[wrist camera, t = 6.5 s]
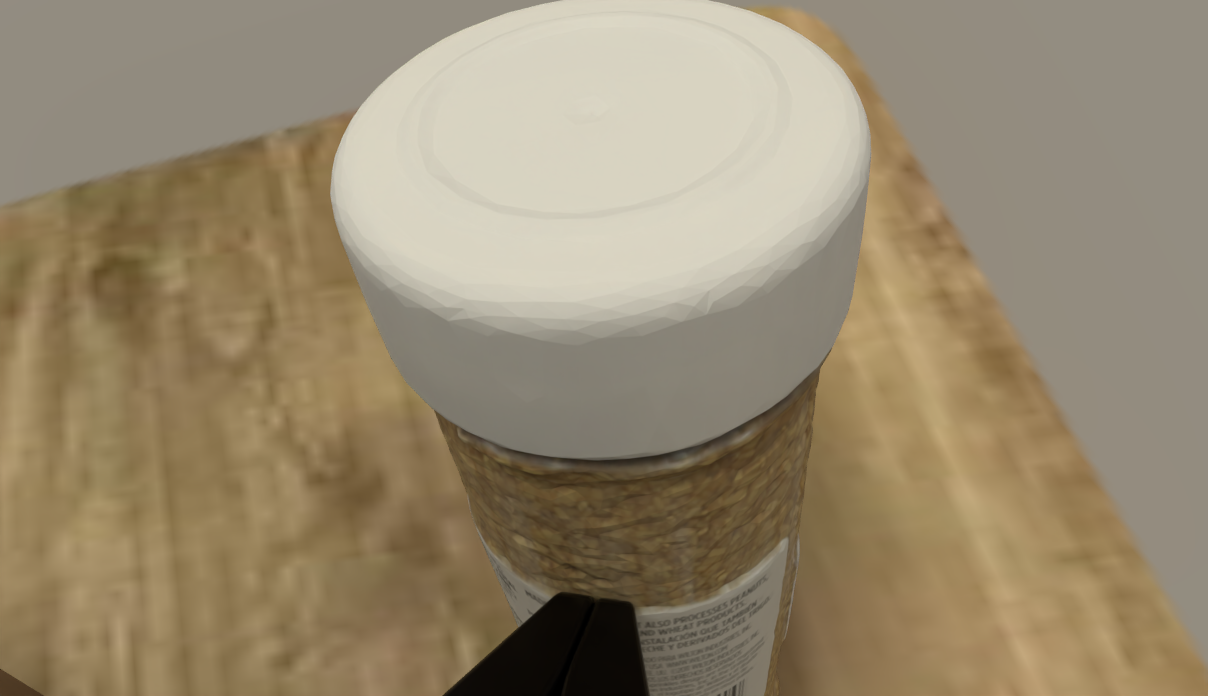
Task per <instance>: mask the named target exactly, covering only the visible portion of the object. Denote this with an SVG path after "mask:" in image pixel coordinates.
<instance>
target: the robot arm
mask: <svg viewBox="0 0 1208 696" xmlns="http://www.w3.org/2000/svg"><path fill="white" fill-rule="evenodd" d="M443 696H650V692H649V687H648V681H647V675H646V670H645V664H644V658H643V653H642V647H641V641H640V636H639V630H638V624H637V619H636V613H635V608H634V605H633V604H632V603H631V602H629V601H623V600H616V599H609V598H600V599H598V600H597V601H596V603H595V600H594V599H593V598H592V597H591V596H589V595H583V594H576V593H569V592H559V593H557V594H555V595H554V596H553V597H552V598H551V599H550V600H549V601H547V602H546V603H545V604H544V605H543V606H542V607H541V608H540V609H539V610H537V611H536V612H535V613H534V614H533V615H532V616H531V617H530V618H528V619H527V620H526V621H525V622H524V623H523V624H522V625H521V626H520V627H518V628H517V629H516V630H515V631H514V632H513V633H512V634H511V635H510V636H508V637H507V638H506V639H505V640H504V641H503V642H502V643H501V644H499V645H498V646H497V647H496V648H495V649H494V650H493V651H492V652H491V653H489V654H488V655H487V656H486V657H485V658H484V659H483V660H482V661H481V662H479V663H478V664H477V665H476V666H475V667H474V668H473V669H472V670H471V671H469V672H468V673H467V674H466V675H465V676H464V677H463V678H462V679H460V680H459V681H458V682H457V683H456V684H455V685H454V686H453V687H452V688H450V689H449V690H448V691H447V692H446V693H445V694H444V695H443Z"/></svg>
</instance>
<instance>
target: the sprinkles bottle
mask: <svg viewBox="0 0 1208 696" xmlns="http://www.w3.org/2000/svg"><path fill="white" fill-rule="evenodd" d="M870 162H871V139H870V131H869V126H868V121H867V116H866V113H865V110H864V108H863V105H862V102H861V100H860V98H859V96H858V94H857V92H856V90H855V88H854V86H853V84H852V83H851V81H850V80H849V78H848V77H847V75H846V74H845V72H844V71H843V70H842V69H841V67H840V66H839V65H838V64H837V63H836V62H835V61H834V60H833V59H832V58H831V57H830V56H829V55H828V54H826V53H825V52H824V51H823V50H822V49H821V48H820V47H818V46H817V45H815V44H814V43H812V42H811V41H809V40H808V39H807V38H805V37H804V36H802V35H801V34H799V33H797V32H795V31H794V30H792V29H790V28H788V27H787V26H785V25H783V24H781V23H779V22H776V21H774V20H771V19H769V18H766V17H764V16H762V15H759V14H757V13H754V12H752V11H748V10H745V9H741V8H738V7H734V6H730V5H727V4H723V3H719V2H713V1H709V0H562V1H557V2H551V3H546V4H541V5H537V6H533V7H529V8H525V9H521V10H517V11H513V12H509V13H506V14H503V15H501V16H498V17H495V18H492V19H490V20H487V21H484V22H482V23H479V24H476V25H474V26H471V27H468V28H466V29H464V30H461V31H459V32H457V33H455V34H453V35H451V36H449V37H446V38H444V39H443V40H441V41H439V42H438V43H436V44H434V45H433V46H431V47H429V48H428V49H426V50H424V51H423V52H421V53H420V54H418V55H417V56H415V57H414V58H412V59H411V60H410V61H408V62H407V63H406V64H404V65H403V66H402V67H401V68H399V69H398V70H397V71H396V72H394V73H393V74H392V75H391V76H389V77H388V78H387V79H386V80H385V81H384V82H383V83H382V84H381V85H379V86H378V87H377V88H376V89H375V90H374V92H373V93H372V94H371V95H370V96H369V97H368V98H367V100H366V101H365V102H364V103H363V104H362V105H361V107H360V108H359V110H358V111H357V113H356V114H355V115H354V117H353V118H352V120H351V122H350V124H349V126H348V127H347V129H346V131H345V133H344V135H343V137H342V140H341V142H340V145H339V147H338V150H337V153H336V155H335V159H334V164H333V169H332V180H331V192H330V195H331V201H332V206H333V212H334V217H335V222H336V225H337V228H338V231H339V234H340V237H341V240H342V243H343V245H344V248H345V250H346V253H347V255H348V258H349V260H350V263H351V265H352V268H353V270H354V273H355V275H356V278H357V281H358V283H359V286H360V288H361V291H362V293H363V296H364V298H365V301H366V303H367V305H368V308H369V310H370V312H371V314H372V317H373V319H374V321H375V323H376V325H377V328H378V330H379V332H380V334H381V337H382V339H383V341H384V343H385V346H386V348H387V350H388V352H389V354H390V357H391V359H392V360H393V362H394V363H395V365H396V367H397V368H398V370H399V372H400V373H401V375H402V376H403V378H404V380H405V381H406V383H407V384H408V385H409V386H410V387H411V388H412V389H413V390H414V391H415V392H416V393H417V394H418V395H419V396H420V397H421V398H422V399H423V400H424V401H425V402H426V403H427V404H428V405H429V406H430V407H431V408H432V409H434V411H435V413H436V416H437V418H438V422H439V425H440V428H441V430H442V432H443V434H444V437H445V439H446V441H447V444H448V447H449V450H450V452H451V454H452V457H453V459H454V461H455V464H456V466H457V468H458V470H459V473H460V476H461V479H462V482H463V484H464V487H465V489H466V492H467V495H468V501H469V507H470V511H471V515H472V518H473V520H474V523H475V526H476V528H477V531H478V533H479V536H480V538H481V541H482V543H483V545H484V548H485V550H486V552H487V555H488V557H489V559H490V562H491V564H492V566H493V568H494V571H495V573H496V575H497V577H498V580H499V582H500V584H501V587H502V589H503V591H504V593H505V596H506V598H507V600H508V603H509V605H510V608H511V610H512V612H513V615H514V617H515V620H516V622H517V625H518V627H520V626H521V625H522V624H523V623H524V622H525V621H526V620H527V619H528V618H530V617H531V616H532V615H533V614H534V613H535V612H536V611H537V610H539V609H540V608H541V607H542V606H543V605H544V604H545V603H546V602H547V601H549V600H550V599H551V598H552V597H553V596H554V595H555V594H557V593H559V592H569V593H576V594H583V595H589V596H591V597H592V598H593V599H594V600H595V603H596V601H597V600H598V599H600V598H609V599H616V600H623V601H629V602H631V603H632V604H633V605H634V608H635V613H636V619H637V624H638V630H639V636H640V641H641V647H642V653H643V658H644V664H645V670H646V675H647V681H648V687H649V692H650V696H778V693H779V678H778V675H777V673H776V672H777V662H778V657H779V652H780V647H781V644H782V643H783V641H784V639H785V637H786V633H787V629H788V624H789V618H790V613H791V607H792V601H793V595H794V588H795V582H796V576H797V569H798V563H799V556H800V543H799V534H798V532H799V526H800V517H801V509H802V503H803V497H804V485H805V479H806V469H807V461H808V458H809V452H810V447H811V440H812V433H813V428H812V421H813V415H814V408H815V396H816V388H817V385H818V381H819V373H820V368H821V366H822V364H823V363H824V361H825V360H826V358H827V356H828V355H829V353H830V351H831V349H832V346H833V345H834V343H835V341H836V338H837V336H838V334H839V331H840V329H841V327H842V324H843V322H844V320H845V318H846V315H847V313H848V310H849V306H850V302H851V299H852V294H853V288H854V282H855V276H856V270H857V264H858V258H859V252H860V246H861V239H862V233H863V225H864V217H865V209H866V201H867V192H868V182H869V172H870Z"/></svg>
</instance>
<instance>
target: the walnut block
mask: <svg viewBox="0 0 1208 696" xmlns="http://www.w3.org/2000/svg"><path fill="white" fill-rule="evenodd" d="M0 696H43V695H42V694H40V693H38V692H37V691H35V690H34V689H32V688H30V687H29V686H27V685H25V684H24V683H22V682H21V681H19V680H17V679H16V678H14V677H12V676H11V675H9V674H8V673H6V672H4V671H3V670H1V669H0Z"/></svg>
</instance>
